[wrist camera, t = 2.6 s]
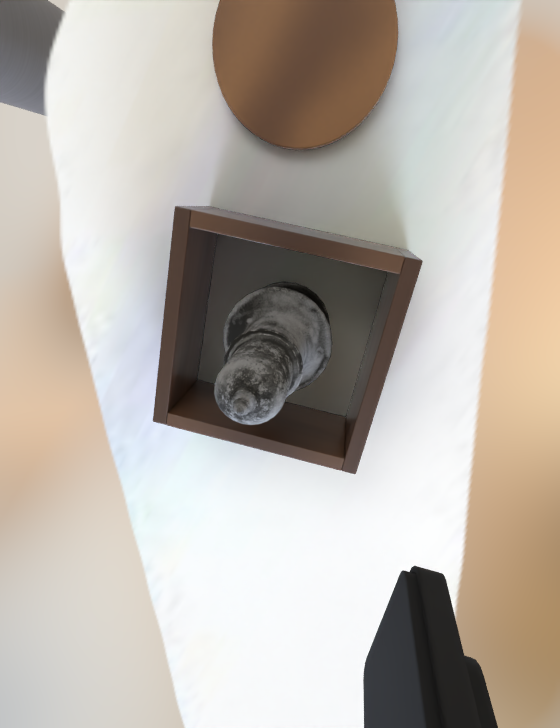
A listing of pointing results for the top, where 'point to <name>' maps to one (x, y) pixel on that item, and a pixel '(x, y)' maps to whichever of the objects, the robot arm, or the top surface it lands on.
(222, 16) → the coaster
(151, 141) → the top surface
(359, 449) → the crate
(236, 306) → the stone chess piece
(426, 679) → the robot arm
